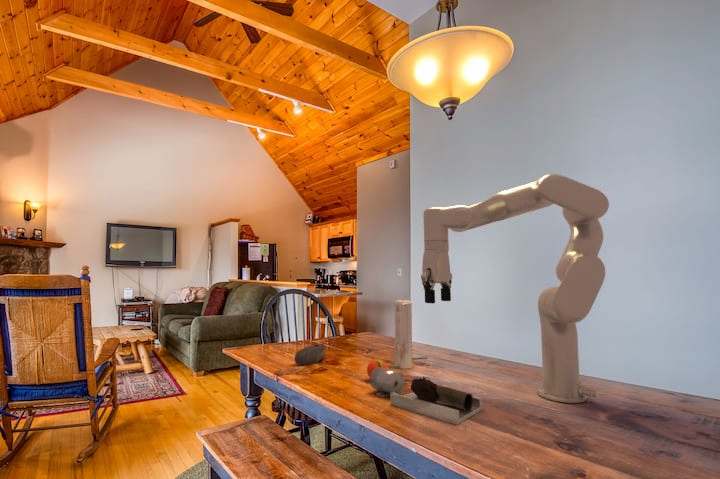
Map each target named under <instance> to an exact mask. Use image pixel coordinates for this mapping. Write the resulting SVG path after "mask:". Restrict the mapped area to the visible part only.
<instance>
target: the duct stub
mask: <svg viewBox="0 0 720 479" xmlns="http://www.w3.org/2000/svg"><path fill="white" fill-rule="evenodd" d="M405 381H406V380H405V376H404V374H403V372H400V371H396V370H392V369H388V368H387V369H384V368H380V367H377V368H375V369H374V370H373V371H372V373H371V377H369V382H370V383H369V384H370V386H371V388H372V389H373V390H376V391H379V392H376V393H375V396H377V397H381V398H386V397H389V396H390V393H392V392H394V393H398V394H401V393H402V392H403V390H404V387H405Z"/></svg>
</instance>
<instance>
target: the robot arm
mask: <svg viewBox="0 0 720 479" xmlns="http://www.w3.org/2000/svg"><path fill="white" fill-rule="evenodd" d="M552 205H557V206H559V207H561V208H562V211H561V212H562V215H563V217H564V219H565V221H566V222H567V224H568V225H569V228H570V236H569V238H568V241H567V244H566V246H565V247H564V250H563V253H562V255H561V257H560V259H559V261H558V263H557V265H556V268H555V275H556V277H557V279H558V280H559V281H560V282H561V283H560V285H559V286H550V287H549V288H546V289H544V290H543V291H542V292H541V293H540V295H539V297H538V301H537V308H538V309H537V310H538V317H539V321H540V334H541V335H540V336H541V339H540V340H541V362H542V363H541V364H542V386H539V387H537V394H538V395H539V396H540V397H542V398H544V399H546V400H551V401H554V402H558V403H560V402H561V403H565V404H567V403H569V404H579V403H584V402H586V401H587V396H588V397H592V398H598V390H597V389H595V388H594V387H586V386H585V385H584V384H583V381H581V380H580V362H579V344H578V343H579V337H578V330H577V323H579V322H582V321H583V320H585V318H586V317H587V316H588V315H589V313H590V311H591V309H592V307H593V305H594V303H595V301H596V299H597V297H598V294H599V292H600V291H601V288H602V286H603V284H604V280H605V277H606V267H605V265H604V262H603V261H602V259H601V258H600V257H598V256H599V253H600V250H601V247H602V246H603V243H604V231H603V228H602V224H601V223H600V220H599V219H601V218H602V217H604V216H605V215H606V214H607V212H608V210H609V208H610V207H609V206H610V202H609V199H608V197H607V195H606V194H604V193H603V192H602V191H601V190H599V189H597V188H594V187H592V186H590V185H587V184H584V183H582V182H579V181H577V180H574V179H573V178H569V177H567V176H565V175H561V174H557V173H547V174H545V175H543V176H542V177H540V178H539V179H537V180H536V181H532V182H528V183H526V184H523V185H519V186H516V187H512V188H510V189H509V188H508V189H506V190H501V191H500V192H498V193H495V194H493V195H492V196H491V197H489V198H487V199H485V200H483V201H481V202H478V203H475V204H473V205H470V206H467V205H463V204H459V205H458V204H457V205H453V206H447V207H439V206H437V207H436V206H434V207H428V208H426V209H424V211H423V212H422V213H423V214H422V215H423V216H422V217H423V242H424V243H423V246H424V248H423V249H424V251H423V255H422V272H421V275H420V279H421V284H422V286H423V290H424V303H425V304H435V303H436V292H435V291H436V290H435V289H434V288H435V285H436V284H440V286H441V288H440V300H441V302H451V301H452V298H451V297H452V296H451V295H452V293H451V289H452V283H453V281H452V279H453V274H452V273H451V265H450V256H449V251H450V248H449V230H451V231H452V232H455V233H462V232H465V231H469V230H472V229H476V228H480V227H483V226H486V225H488V224H492V223H495V222H500V221H501V222H502V221H505V220H507V219H511V218H514V217H517V216H520V215H523V214H527V213H530V212H534V211H537V210H541V209H545V208H548V207H550V206H552Z"/></svg>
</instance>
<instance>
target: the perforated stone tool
mask: <svg viewBox="0 0 720 479" xmlns="http://www.w3.org/2000/svg"><path fill="white" fill-rule="evenodd" d="M325 347H326V346H325V344H324V343H316V344H312V345H309V346H308V345H307V346H306V347H303V348H301V349H300V350H299V351H297V352H296V353H295V356H294V362H295V364H297V365H298V366H299V365H300V366H305V365H312V363H313V364H317V363H318V362H319V361H320V362H322V361H323V360H324V357H325V353H326V351H325Z"/></svg>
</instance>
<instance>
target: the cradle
mask: <svg viewBox="0 0 720 479" xmlns="http://www.w3.org/2000/svg"><path fill="white" fill-rule="evenodd" d="M389 396H390V397H389V398H390V401H389V402H390V404H389V405H390V406H393V407H397V408H401V409H403V410H407V411H410V412H413V413H417V414H420V415H423V416H426V417H429V418H433V419H436V420H439V421H443V422H447V423H449V424H451V425H452V424H453V425H459V424H461V423H463V422H464V421H465V420H468V419H469V418H471V417H473V416H475V415H476V414H478V413H479V412H481V411H482V410H483V403H482V402H483V398H482V397H479V396H475V395H472V396H473V399H472V400H473V404H472V407H471V409H470V410H464V409H461V408H458V407H455V406H452V405H449V404H447V403H444V402H441V401H438V400H437V401H436V402H431V403H430V402H426V401H423V400H419V399H418V397H417V395H415V393H413V392H409V393H407V394H401V393H400V394H398V393H394V392H392V393H390V395H389Z"/></svg>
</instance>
